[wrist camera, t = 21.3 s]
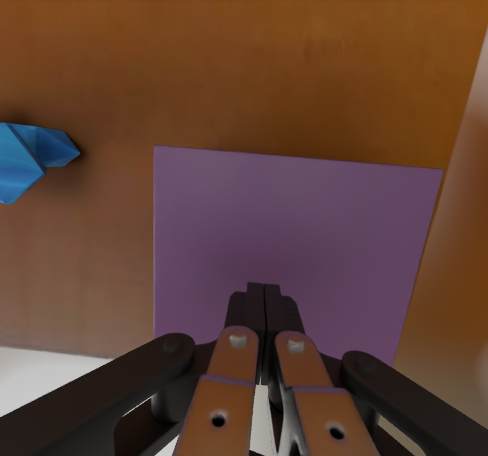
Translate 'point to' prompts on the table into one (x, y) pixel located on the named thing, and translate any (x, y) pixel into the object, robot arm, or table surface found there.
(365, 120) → the table surface
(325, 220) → the lid
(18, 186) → the gemstones
